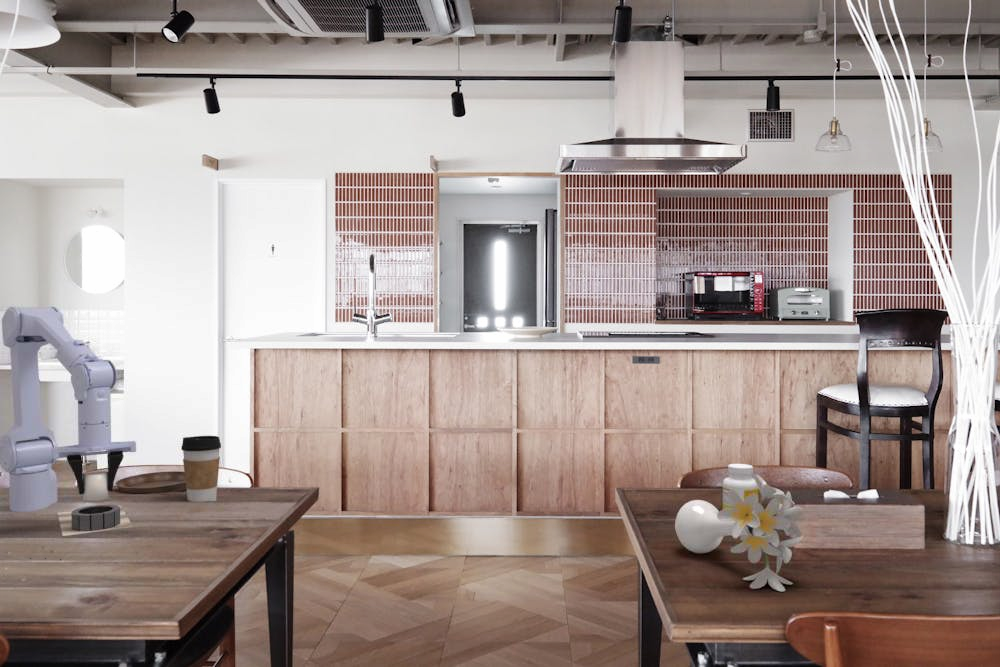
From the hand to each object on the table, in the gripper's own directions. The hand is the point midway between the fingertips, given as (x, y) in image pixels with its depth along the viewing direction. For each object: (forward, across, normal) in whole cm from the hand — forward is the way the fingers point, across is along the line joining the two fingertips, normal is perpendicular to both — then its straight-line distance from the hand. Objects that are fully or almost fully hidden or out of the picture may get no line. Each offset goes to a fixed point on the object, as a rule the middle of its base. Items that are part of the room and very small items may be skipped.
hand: (95, 491), depth 154 cm
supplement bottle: (+8, +107, -68) cm, 127 cm away
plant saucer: (+8, +16, +32) cm, 36 cm away
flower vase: (+8, +88, -82) cm, 121 cm away
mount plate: (+8, 0, +5) cm, 9 cm away
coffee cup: (+8, +22, +12) cm, 27 cm away
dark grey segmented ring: (+7, 0, 0) cm, 7 cm away
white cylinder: (+1, 0, 0) cm, 1 cm away
